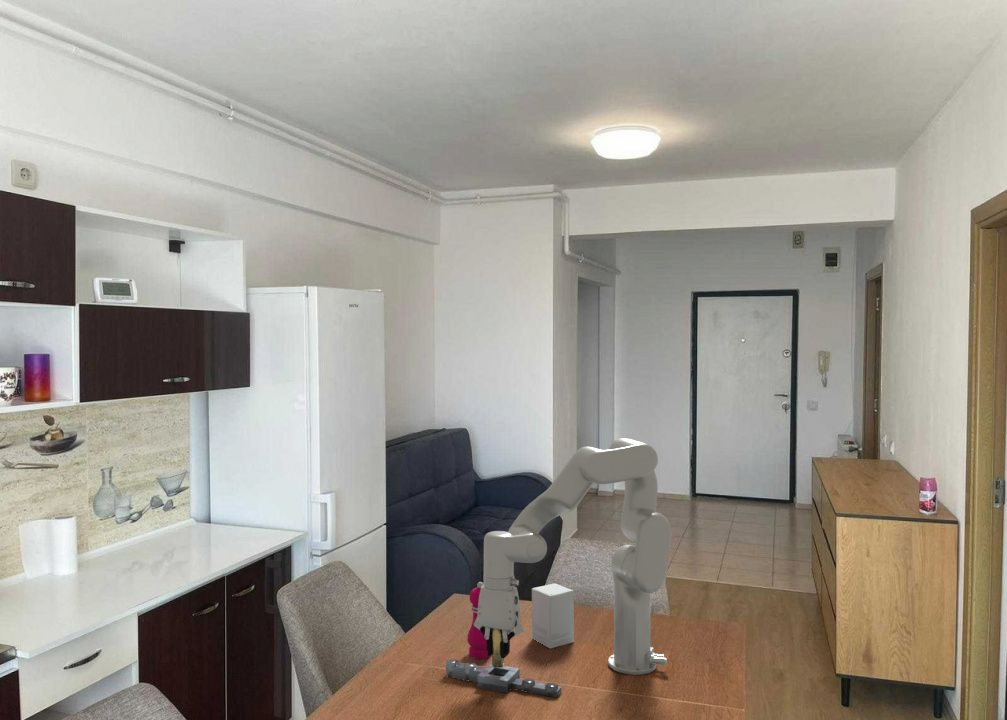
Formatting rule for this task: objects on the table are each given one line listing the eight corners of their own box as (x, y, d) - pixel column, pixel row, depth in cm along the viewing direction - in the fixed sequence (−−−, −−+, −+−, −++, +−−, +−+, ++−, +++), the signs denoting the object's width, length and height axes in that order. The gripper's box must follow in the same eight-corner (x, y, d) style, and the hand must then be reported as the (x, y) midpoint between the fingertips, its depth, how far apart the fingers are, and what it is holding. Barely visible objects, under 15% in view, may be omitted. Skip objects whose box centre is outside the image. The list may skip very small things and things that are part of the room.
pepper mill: (497, 651, 215) (497, 579, 214) (488, 661, 208) (488, 587, 207) (473, 647, 217) (472, 576, 217) (463, 657, 210) (463, 584, 210)
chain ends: (564, 688, 191) (564, 674, 191) (553, 702, 184) (553, 687, 184) (453, 668, 203) (453, 655, 203) (439, 680, 196) (439, 666, 196)
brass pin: (505, 664, 194) (506, 624, 194) (500, 668, 192) (501, 628, 192) (494, 662, 196) (495, 622, 195) (489, 666, 193) (490, 626, 193)
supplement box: (575, 642, 221) (575, 590, 221) (550, 649, 216) (550, 596, 216) (555, 632, 228) (555, 582, 228) (530, 639, 223) (530, 587, 223)
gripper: (534, 582, 194) (533, 655, 194) (475, 574, 200) (474, 644, 200) (523, 590, 187) (522, 666, 187) (462, 582, 193) (461, 655, 193)
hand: (497, 654), depth 194 cm, fingers closed on brass pin, 3 cm apart
